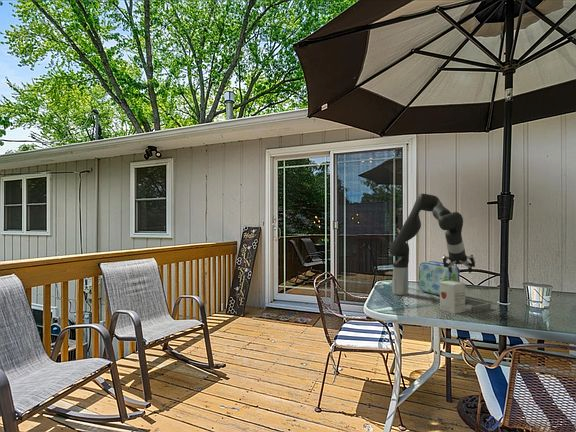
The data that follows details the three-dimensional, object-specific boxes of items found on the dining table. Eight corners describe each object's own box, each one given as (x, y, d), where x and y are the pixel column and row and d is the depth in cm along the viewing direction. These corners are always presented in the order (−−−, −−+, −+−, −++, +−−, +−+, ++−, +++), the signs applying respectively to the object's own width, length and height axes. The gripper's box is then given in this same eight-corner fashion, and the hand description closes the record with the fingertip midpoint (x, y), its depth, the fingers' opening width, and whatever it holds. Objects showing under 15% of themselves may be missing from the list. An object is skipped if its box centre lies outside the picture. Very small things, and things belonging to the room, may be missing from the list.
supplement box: (439, 309, 183) (439, 281, 183) (450, 307, 187) (450, 280, 187) (454, 314, 175) (454, 284, 175) (465, 311, 179) (465, 282, 179)
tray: (473, 313, 177) (473, 307, 177) (444, 306, 191) (444, 300, 191) (490, 308, 185) (490, 303, 185) (462, 302, 199) (462, 297, 199)
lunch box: (462, 297, 211) (462, 263, 211) (450, 299, 206) (450, 264, 206) (428, 289, 234) (428, 258, 235) (417, 291, 230) (416, 259, 230)
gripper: (472, 242, 169) (476, 266, 176) (440, 243, 176) (446, 266, 184) (472, 252, 163) (476, 277, 171) (439, 253, 171) (445, 276, 179)
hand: (460, 271), depth 177 cm, fingers open, 8 cm apart
